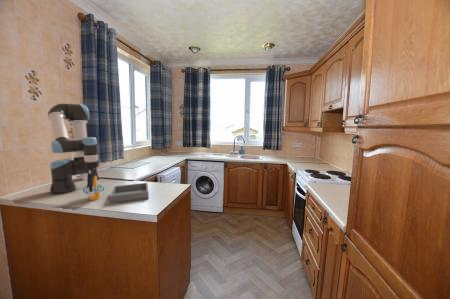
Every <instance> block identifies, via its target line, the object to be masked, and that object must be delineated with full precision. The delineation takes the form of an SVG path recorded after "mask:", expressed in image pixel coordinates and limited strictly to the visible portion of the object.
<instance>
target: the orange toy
mask: <svg viewBox="0 0 450 299" xmlns="http://www.w3.org/2000/svg"><path fill="white" fill-rule="evenodd" d="M93 186H94V195H95V196H92V197H89V196H88V198H89V200H90V201H94V200H99V199H100V197H101V195H100V194H101V193H100V192H103V191H104V190H105V186H104V185H102V184H101V183H98V185H97V177H96V176H95V177H94V181H93ZM98 188H99V189H98ZM82 191H83V193H84V194H87V195H89V189H88V187H87V185H86V186H84V187H83V188H82Z"/></svg>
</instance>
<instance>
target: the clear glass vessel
mask: <svg viewBox="0 0 450 299" xmlns="http://www.w3.org/2000/svg"><path fill="white" fill-rule="evenodd" d="M87 178H88V173H87V174H80V175H79V179H80V180H82V181H87Z"/></svg>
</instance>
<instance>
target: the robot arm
mask: <svg viewBox="0 0 450 299" xmlns="http://www.w3.org/2000/svg"><path fill="white" fill-rule="evenodd" d="M89 111H90V110H89V108H88V107H87V105H85V104H79V103H57V104H55V105H53V106H51V108H50V109H49V110H48V112H47V117H48V118H47V119H48V120H49V122H50V126H51V129H52V135H53V141H51V143H50V146H51V151H52V153H54V154H63V153H74V154H75V156H74V157H73V159H71V158H69V157H68V158H62V159H61V158H59V159H56V160H53V161H51V163H50V175H51V185H50V187H49V193H50V194H51V195H61V194H66V193H67V194H68V193H71V192H75V191H76V190H77V186H76V183H75V182H74V180H73V176H78V175H79V176H80V174H87V173H88V178H87V180H86V181H87V184H86V186H87V187H88V191H89V192H88V193H89V194H88V198H89V197H92V196H95V195H94V186H93V181H94V177H95V176H96V177H97V185H98V184H99V181H100V178H99V174H98V170H97V168H98V167H99V166H100V162H99V157H100V156H99V154H98V141H97V140H98V139H97V138H96V137H93V136H89V137H88V134H87V123H88V121H89V120H90V117H91V116H90V112H89ZM65 120H69V123H70V124H71V127H72V134H73V139H72V140H70V137H69V133H68V129H67V125H66V121H65ZM98 186H99V185H98ZM99 188H100V187H99ZM99 188H98V189H99Z"/></svg>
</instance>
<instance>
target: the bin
mask: <svg viewBox="0 0 450 299" xmlns="http://www.w3.org/2000/svg"><path fill="white" fill-rule="evenodd" d="M110 192H111V193H110V195H109V202H110V205H112V204H120V203H128V202H135V201H143V200H149V195H150V194H149V184H148V182H144V183H132V184H124V185H115V186H113V188H112V191H110Z"/></svg>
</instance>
